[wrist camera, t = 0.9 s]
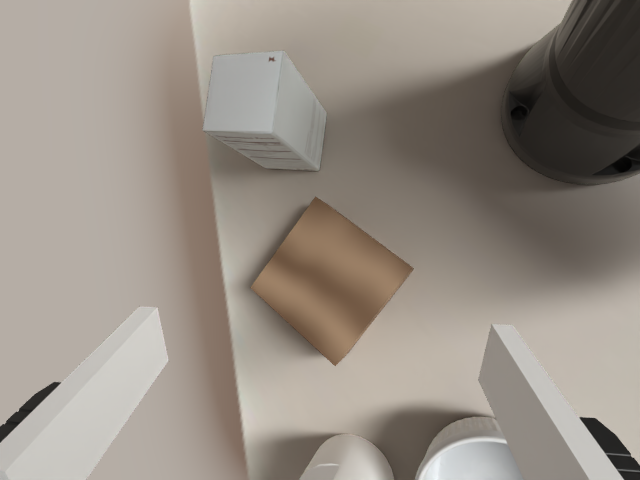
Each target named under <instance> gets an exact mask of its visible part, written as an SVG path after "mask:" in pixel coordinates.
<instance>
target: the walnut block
mask: <svg viewBox="0 0 640 480" xmlns="http://www.w3.org/2000/svg"><path fill="white" fill-rule="evenodd" d="M413 269H414V268H413V267H411V266H410V265H409V264H407V263H406V262H404V261H403V260H402V259H400V258H399V257H398V256H396V255H395V254H394V253H392V252H391V251H390V250H388V249H387V248H386V247H384V246H383V245H382V244H380V243H379V242H378V241H376V240H375V239H374V238H372V237H371V236H369V235H368V234H367V233H365V232H364V231H363V230H361V229H360V228H359V227H357V226H356V225H355V224H353V223H352V222H351V221H349V220H348V219H347V218H345V217H344V216H343V215H341V214H340V213H339V212H337V211H336V210H334V209H333V208H332V207H330V206H329V205H328V204H326V203H325V202H323V201H321V200H320V199H318V198H317V197H315V198H314V199H313V201H312V202H311V204H310V205H309V206H308V208H307V209H306V211H305V212H304V213H303V215H302V216H301V218H300V219H299V220H298V222H297V223H296V224H295V226H294V227H293V229H292V230H291V231H290V233H289V234H288V236H287V237H286V238H285V240H284V241H283V243H282V244H281V245H280V247H279V248H278V250H277V251H276V252H275V254H274V255H273V257H272V258H271V259H270V261H269V262H268V264H267V265H266V266H265V268H264V269H263V271H262V272H261V273H260V275H259V276H258V278H257V279H256V280H255V282H254V283H253V285H252V286H251V287H250V288H251V289H252V290H253V291H254V292H255V293H256V294H258V295H259V296H260V297H261V298H262V299H263V300H264V301H265V302H266V303H267V304H268V305H269V306H271V307H272V308H273V309H274V310H275V311H276V312H277V313H278V314H279V315H280V316H281V317H282V318H284V319H285V320H286V321H287V322H288V323H289V324H290V325H291V326H292V327H293V328H294V329H295V330H297V331H298V332H299V333H300V334H301V335H302V336H303V337H304V338H305V339H306V340H307V341H309V342H310V343H311V344H312V345H313V346H314V347H315V348H316V349H317V350H318V351H319V352H320V353H322V354H323V355H324V356H325V357H326V358H327V359H328V360H329V361H330V362H331V363H332V364H333V365H335V366H336V365H337V364H338V363H339V362H340V361H341V360H342V359H343V358H344V357H345V356H346V355H347V354H348V352H349V351H350V350H351V348H352V347H353V346H354V345H355V343H356V342H357V341H358V340H359V338H360V337H361V336H362V334H363V333H364V332H365V331H366V329H367V328H368V327H369V325H370V324H371V323H372V322H373V320H374V319H375V318H376V317H377V315H378V314H379V313H380V311H381V310H382V309H383V308H384V306H385V305H386V304H387V302H388V301H389V300H390V299H391V297H392V296H393V295H394V294H395V292H396V291H397V290H398V288H399V287H400V286H401V285H402V283H403V282H404V281H405V279H406V278H407V277H408V276H409V274H410V273H411V272H412V271H413Z"/></svg>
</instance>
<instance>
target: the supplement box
mask: <svg viewBox="0 0 640 480" xmlns="http://www.w3.org/2000/svg"><path fill="white" fill-rule="evenodd" d="M326 117H327V113H326V111H325V110H324V108H323V107H322V105H321V104H320V102H319V101H318V99H317V98H316V97H315V95H314V94H313V92H312V91H311V89H310V88H309V86H308V85H307V83H306V82H305V80H304V79H303V78H302V76H301V75H300V73H299V72H298V70H297V69H296V67H295V66H294V64H293V63H292V61H291V60H290V58H289V57H288V56H287V54H286V53H285V51H284V50H283V51H271V52H257V53H242V54H229V55H217V56H214V57H213V63H212V70H211V77H210V84H209V91H208V97H207V104H206V111H205V117H204V124H203V131H204V132H206V133H207V134H209V135H211V136H213V137H214V138H216V139H217V140H219V141H221V142H223V143H224V144H226V145H228V146H229V147H231V148H233V149H235V150H236V151H238V152H239V153H241V154H243V155H244V156H246V157H248V158H249V159H251V160H253V161H254V162H256V163H257V164H259V165H261V166H262V167H264V168H271V169H290V170H310V171H319V170H320V162H321V155H322V148H323V140H324V133H325V125H326Z"/></svg>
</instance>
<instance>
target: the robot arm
mask: <svg viewBox="0 0 640 480" xmlns="http://www.w3.org/2000/svg"><path fill="white" fill-rule="evenodd" d="M501 119H502V126H503V130H504V133H505V136H506V138H507V141H508V142H509V144H510V146H511V148H512V149H513V150H514V152H515V153H516V154H517V155H518V157H519V158H520V159H521V160H522V161H523V162H525V163H526V164H527V165H528V166H530V167H531V168H532V169H534V170H536V171H537V172H539V173H541V174H543V175H545V176H548V177H550V178H553V179H556V180H559V181H563V182H568V183H574V184H603V183H610V182H615V181H619V180H623V179H626V178H629V177H632V176H634V175H637V174H639V173H640V0H573V1H572V2H571V4H570V6H569V8H568V10H567V12H566V14H565V16H564V18H563V20H562V22H561V23H560V24H559V25H558V26H556V27H555V28H554V29H553V30H552V31H550V32H549V33H548V34H547V35H545V36H544V37H543V38H542V39H541V40H539V41H538V42H537V43H536V44H535V45H534V46H533V47H532V48H531V49H530V50H529V51H528V52H527V53H526V54H525V56H524V57H523V58H522V59H521V61H520V62H519V64H518V65H517V67H516V69H515V70H514V72H513V74H512V76H511V78H510V81H509V83H508V86H507V88H506V91H505V94H504V97H503V101H502V109H501ZM168 361H169V360H168V355H167V350H166V346H165V341H164V336H163V331H162V327H161V322H160V318H159V313H158V308H157V307H145V306H139V307H138V308H137V309H136V310H135V311H134V312H133V313H132V314H131V315H130V316H129V317H128V318H127V319H126V320H125V321H124V322H123V323H122V324H121V325H120V326H119V327H118V328H117V329H116V330H115V331H114V332H113V333H112V334H111V335H109V336H108V337H107V338H106V340H104V341H103V342H102V343H101V344H100V345H99V346H98V347H97V348H96V349H95V350H94V351H93V352H92V353H91V354H90V355H89V356H88V357H87V358H86V359H85V360H84V361H83V362H82V363H81V364H80V365H79V366H78V367H77V368H76V369H75V370H74V371H73V372H72V373H71V374H70V375H69V376H68V377H67V378H66V379H65V380H64V381H63V382H62V383H59V382H54V383H52V384H50V385H49V386H47V387H46V388H44V389H43V390H41V391H39V392H38V393H36V394H35V395H34V396H33V397H31V399H29V400H28V401H27V402H26V403H25V404H24V405H23V406H22V407H21V408H20V409H19V411H18V412H16V413H14V414H13V415H12V416H11V417H10V418H9V419H8V420H7V421H6V424H3V425H2V426H0V480H86V479H87V478H88V476H89V475H90V473H91V472H92V470H93V469H94V468H95V466H96V465H97V463H98V462H99V460H100V459H101V458H102V456H103V455H104V453H105V452H106V450H107V449H108V447H109V446H110V444H111V443H112V442H113V440H114V439H115V437H116V436H117V434H118V433H119V432H120V430H121V429H122V427H123V426H124V424H125V423H126V421H127V420H128V419H129V417H130V416H131V414H132V413H133V411H134V410H135V409H136V407H137V406H138V404H139V403H140V401H141V400H142V398H143V397H144V396H145V394H146V393H147V391H148V390H149V388H150V387H151V385H152V384H153V382H154V381H155V379H156V378H157V377H158V375H159V374H160V372H161V371H162V370H163V368H164V366H165V365H166V364H167V362H168ZM478 380H479V383H480V385H481V387H482V389H483V391H484V394H485V396H486V398H487V400H488V402H489V404H490V407H491V409H492V411H493V413H494V415H495V418H496V420H497V422H498V424H499V426H500V429H501V431H502V433H503V435H504V437H505V439H506V442H507V444H508V446H509V448H510V450H511V453H512V455H513V457H514V459H515V461H516V464H517V466H518V468H519V470H520V472H521V475H522V477H523V479H524V480H640V465H639V464H638V463H637V461H636V460H635V459H634V458H632V457H631V454H630V452H629V451H628V450H627V449H626V447H625V446H624V445H623V444H622V442H621V441H620V440H619V439H618V437H617V436H616V435H615V434H614V433H613V432H611V431H610V430H609V429H608V428H607V427H605V426H604V425H603V424H602V423H600V422H599V421H598V420H597V419H596V418H583V417H578V415H577V414H576V413H575V411H574V410H573V408H572V407H571V406H570V404H569V403H568V401H567V400H566V399H565V397H564V396H563V394H562V393H561V392H560V390H559V389H558V387H557V386H556V385H555V383H554V382H553V381H552V379H551V378H550V376H549V375H548V374H547V372H546V371H545V369H544V368H543V367H542V365H541V364H540V362H539V361H538V360H537V358H536V357H535V356H534V354H533V353H532V351H531V350H530V349H529V347H528V346H527V344H526V343H525V342H524V340H523V339H522V337H521V336H520V335H519V333H518V332H517V330H516V329H515V328H514V326H513V325H503V324H491V328H490V332H489V337H488V341H487V345H486V349H485V354H484V358H483V362H482V366H481V371H480V375H479V379H478Z"/></svg>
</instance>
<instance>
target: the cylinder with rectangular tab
mask: <svg viewBox="0 0 640 480" xmlns="http://www.w3.org/2000/svg"><path fill="white" fill-rule="evenodd" d="M299 480H394V477H393V473H392V469H391V467H390V465H389V463H388V461H387V459H386V457H385V456H384V455H383V454H382V452H381V451H380V450H379V449H378V448H377V447H376V446H375V445H374V444H372V443H371V442H370V441H368V440H366V439H364V438H362V437H360V436H357V435H351V434H340V435H335V436H333V437H331V438H329V439H327V440H326V441H325V442H324V443H323V444H322V445H321V446H320V447H319V449H318V450H317V452H316V453H315V455H314V457H313V458H312V460H311V461H310V463H309V464H308V466H307V468H306V469H305V471H304V472H303V474H302V475H301V477H300V479H299Z"/></svg>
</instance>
